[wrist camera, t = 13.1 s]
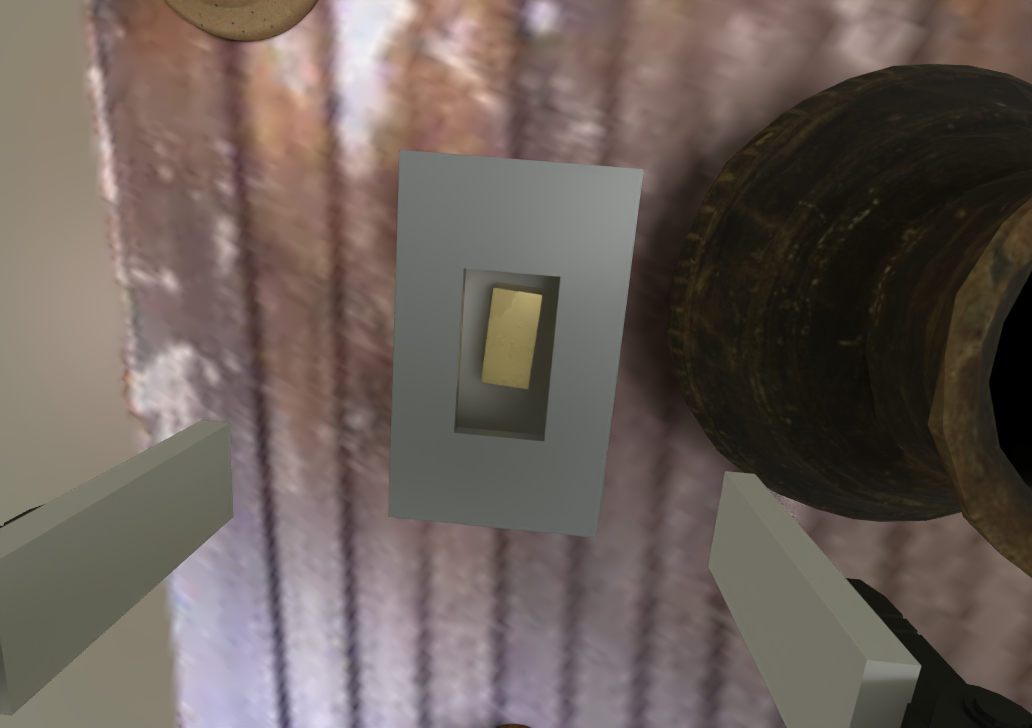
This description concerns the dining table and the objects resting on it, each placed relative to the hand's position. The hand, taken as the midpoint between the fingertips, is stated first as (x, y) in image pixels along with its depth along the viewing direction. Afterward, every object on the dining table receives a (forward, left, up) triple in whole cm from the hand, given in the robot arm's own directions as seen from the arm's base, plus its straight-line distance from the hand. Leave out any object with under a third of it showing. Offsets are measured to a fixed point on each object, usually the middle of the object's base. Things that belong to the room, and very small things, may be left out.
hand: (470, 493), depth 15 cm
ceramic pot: (+4, -21, -26) cm, 33 cm away
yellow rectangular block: (0, 0, -25) cm, 25 cm away
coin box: (0, 0, -26) cm, 26 cm away
